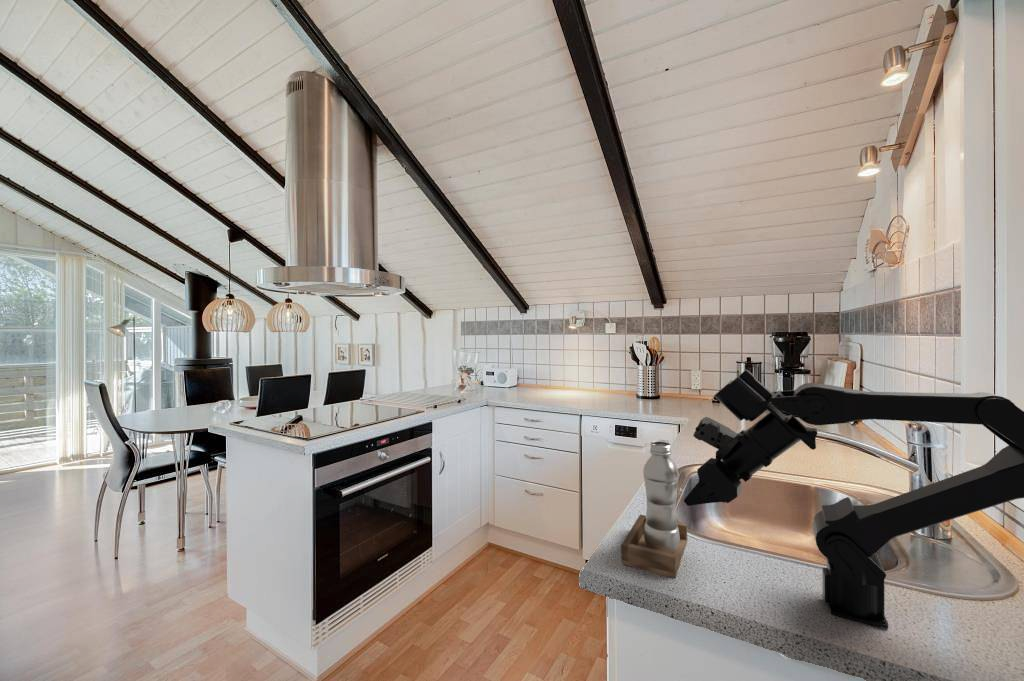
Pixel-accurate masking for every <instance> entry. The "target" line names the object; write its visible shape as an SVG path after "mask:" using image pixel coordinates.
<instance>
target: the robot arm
mask: <svg viewBox="0 0 1024 681" xmlns="http://www.w3.org/2000/svg"><path fill="white" fill-rule="evenodd" d="M713 396H714V398H715V399H716V400H718V402H720V403H721V405H723V406H724V407H725V408H726V409H727V410H729V412H730V413H731V414H733V416H734V417H736V418H737V419H738V420H739V421H743V420H745V421H747V422H750V423H751V422H753V421H755V420H756V419H757V418H759V417H760V416H761V415H763V413H765V412H767V411H768V413H767V414H766V415H764V416H763V417H762V418H760V419H759V420H758V421H756V423H754V424H753V425H751V426H750V427H749V428H747V429H742V430H741V431H739V432H736V431H734V430H732V429H731V428H730V427H728V426H726V425H724V424H722V423H720V422H719V421H717V420H715V419H713V418H711V417H708V416H704V417H703V418H701V419H700V421H699V423H698V425H697V426H696V427H695V429H694V430H695V431H694V433H693V437H694V438H695V439H697V440H698V441H702V442H704V443H706V444H708V445H710V446H711V447H713V448H715V449H717V450H716V451H715V458H714V457H710V458H709V459H708V460H706V461H705V462H704V463H703V464H702V465H700V466H699V468H698V469H696V470H697V471H696V473H697V475H698V482H697V483H696V485H694V487H693V488H692V489H691V490H690V491H689V493H688V494H687V495H686V497H685V498H684V499H683V503H684V504H685V505H687V506H688V507H691V506H698V505H704V504H713V503H727V504H729V503H732V501H733V500H735V499H736V498H738V496H739V495H740V493H741V492H742V481H741V480H743V481H744V482H745V483H746V482H747V481H749V480H750V479H751V478H752V477H753V475H755V474H756V473H757V472H758V471H760V470H761V469H762V468H764V467H765V468H767V467H768V466H770V465H771V464H772V462H773V461H774V460H776V459H777V458H778V457H779V456H781V455H782V454H784V453H785V452H786V451H788V450H789V449H791V448H792V447H794V446H795V445H796V444H798V443H799V442H800V441H802V442H803V443H804V445H806V446H807V447H808V448H809V449H810V450H816V449H817V442H816V441H817V440H816V439H817V436H818V429H817V428H815V427H814V428H813V427H807V426H806V425H804V424H803V423H802V422H801V421H803V422H804V423H806V424H808V425H812V426H827V425H837V424H838V425H840V424H847V423H852V422H859V421H866V420H883V421H900V422H922V423H941V424H942V423H943V424H945V423H946V424H964V425H980V426H983V427H984V428H986V429H987V430H988V431H990V433H992V434H993V435H994V436H996V437H997V438H998V439H1000V440H1001V441H1003V442H1004V443H1005V444H1007V446H1005V447H1003V448H1002V449H1000V450H999V451H998V452H997V453H996V454H995V455H994V456H993V457H991V458H990V460H988V461H987V462H986V463H984V464H982V465H981V466H978V467H975V468H972V469H969V470H966V471H964V472H962V473H958V474H955V475H952V476H950V477H947V478H944V479H942V480H939V481H935V482H933V483H930V484H928V485H924V486H921V487H919V488H916V489H913V490H911V491H907V492H905V493H902V494H899V495H896V496H893V497H891V498H887V499H885V500H883V501H879V502H876V503H874V504H868V505H865V504H864V505H854V504H853V502H852V500H851V499H850V497H847V496H846V497H843V498H841V499H840V500H838V501H836V502H835V503H833V504H828V505H827V504H824V505H821V510H820V511H819V512H817V513H816V514H815V515H814V517H813V521H812V526H813V532H814V539H815V543H816V544H815V545H816V546H817V548H818V550H819V552H820V553H821V554H822V555H823V556H824V557H825V558H826V567H822V568H821V569H822V570H821V572H822V573H821V574H822V575H821V576H822V577H821V578H822V582H821V583H822V584H821V585H822V596H823V599H824V602H825V603H826V604H828V608H829V612H830V614H832V616H833V615H834V616H837V617H842V618H843V619H844V618H845V619H849V620H853V621H857V622H860V623H865V624H867V625H868V624H869V625H872V626H877V627H881V628H884V629H889V623H888V619H887V618H886V615H885V611H886V610H885V579H886V578H887V574H886V572H885V569H884V568H883V565H882V562H881V559H880V557H879V556H878V553H879V551H881V550H882V549H883V548H884V547H885V546H886V545H888V544H889V543H890V542H891V541H892V540H893V539H895V538H897V537H901V536H903V535H906V534H909V533H912V532H916V531H920V530H923V529H925V528H929V527H932V526H934V525H940V524H941V523H945V522H948V521H951V520H954V519H956V518H961V517H964V516H966V515H970V514H973V513H976V512H980V511H983V510H985V509H988V508H993V507H995V506H998V505H1001V504H1005V503H1008V502H1011V501H1012V502H1013V501H1015V500H1020V499H1024V410H1022V409H1021V408H1019V407H1018V406H1017V405H1016V404H1015V403H1014V402H1012V400H1010V399H1008V398H1006V397H1003V396H1002V395H1001V396H1000V395H997V394H994V393H991V392H984V391H978V392H974V393H957V392H956V393H953V392H952V393H948V392H906V391H905V392H904V391H903V392H902V391H901V392H900V391H899V392H898V391H867V390H866V391H865V390H860V389H853V388H848V387H844V386H843V387H842V386H838V385H832V384H825V383H819V382H807V383H803V384H800V385H799V386H798V387H797V388H796V389H792V390H778V391H770V389H768V388H767V387H766V386H765V385H763V384H762V383H761V382H760V381H759V380H758V379H757V378H756V377H755V375H754V374H753V373H752V372H751V371H749V369H745V370H743V371H742V372H741V373H740V374H739V375H738V376H736V377H735V378H734V379H733V380H732V379H731V380H730V381H728V382H727V384H726V385H725V386H723V387H722V388H721V389H720V390H718V391H717V392H716V393H715V394H714V395H713ZM783 412H784V413H788V414H790V415H786V414H784V413H783ZM794 415H796V416H797V417H798V418H799V419H800V420H801V421H800V420H798V419H797V418H796V417H795V416H794Z"/></svg>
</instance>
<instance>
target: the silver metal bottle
mask: <svg viewBox="0 0 1024 681" xmlns="http://www.w3.org/2000/svg"><path fill="white" fill-rule="evenodd" d="M649 446H650V449H649V453H650V455H651V456H650V457H649V458H648V459H647V460H646V462H645V464H644V466H643V470H642V471H643V472H642V473H643V478H644V479H643V480H644V486H645V496H646V512H645V516H646V522H645V527H644V539H645V543H646V544H647V546H648V547H649V548H651V549H655V550H659V551H663V552H668V553H674V552H675V551H676V550H677V549H678V547H679V543H680V535H679V529H678V526H677V522H678V519H677V517H678V516H677V492H678V485H679V476H680V474H679V470H678V466H677V465H676V462H674V461H673V460H672V458H671V457H670V456H671V455H672V450H671V448H672V447H671V443H670V442H666V441H661V440H657V441H651V442H650V445H649Z"/></svg>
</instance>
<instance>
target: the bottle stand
mask: <svg viewBox="0 0 1024 681" xmlns="http://www.w3.org/2000/svg"><path fill="white" fill-rule="evenodd" d="M645 522H646V514H645V515H644V514H639V516H638V517H637V519H636V520H635V522H634V524H633V525H632V527H631V528H630V530H629V532H628V533H627V535H626V536H625V538H624V540H623V541H622V543H621V545H620V554H621V555H620V556H621V557H620V558H621V561H620V562H621V563H620V564H621V565H623V564H625V565H624V566H627V565H628V567H630V566H632V567H631V568H634V567H635V569H639V570H642V569H643V570H642V571H646V570H647V572H649V571H650V573H653V572H654V574H658V575H661V576H662V575H663V576H666V577H668V578H673V579H676V577H677V575H678V571H679V568H680V566H681V562H682V560H681V559H683V556H684V554H685V550H686V547H687V544H688V523H684V522H679V521H677V526H678V529H679V535H680V543H679V547H678V549H677V550H676V551H675V552H674V553H668V552H663V551H659V550H655V549H651V548H649V547H648V546H647V544H646V543H645V539H644V527H645Z"/></svg>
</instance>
